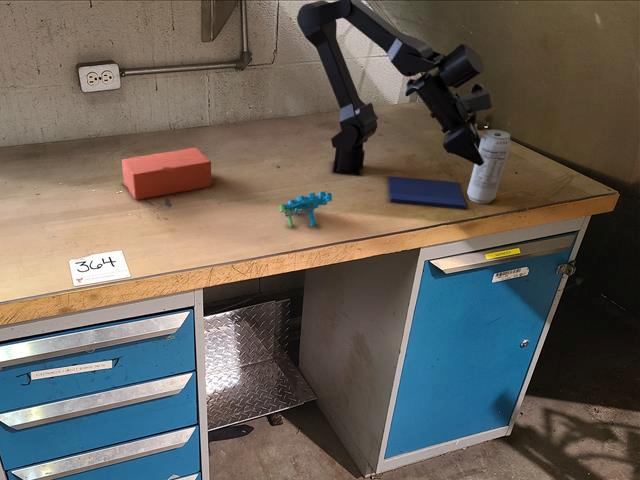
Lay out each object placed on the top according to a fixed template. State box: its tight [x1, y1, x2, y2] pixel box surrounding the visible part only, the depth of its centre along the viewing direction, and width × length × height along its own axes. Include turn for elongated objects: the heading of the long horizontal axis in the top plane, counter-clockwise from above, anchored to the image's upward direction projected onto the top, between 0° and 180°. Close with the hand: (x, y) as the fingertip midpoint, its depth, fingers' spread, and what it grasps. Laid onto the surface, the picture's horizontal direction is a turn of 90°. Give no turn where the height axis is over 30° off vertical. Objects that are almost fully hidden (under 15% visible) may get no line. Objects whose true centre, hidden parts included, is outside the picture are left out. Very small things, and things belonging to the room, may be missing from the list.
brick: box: [121, 147, 212, 201], centre depth 135 cm, size 18×9×6 cm, turn 116°
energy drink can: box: [466, 129, 512, 205], centre depth 130 cm, size 6×6×15 cm
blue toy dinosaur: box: [279, 191, 333, 228], centre depth 122 cm, size 11×6×10 cm
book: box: [388, 175, 467, 210], centre depth 136 cm, size 16×13×1 cm
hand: (481, 156), depth 129 cm, fingers open, 9 cm apart
